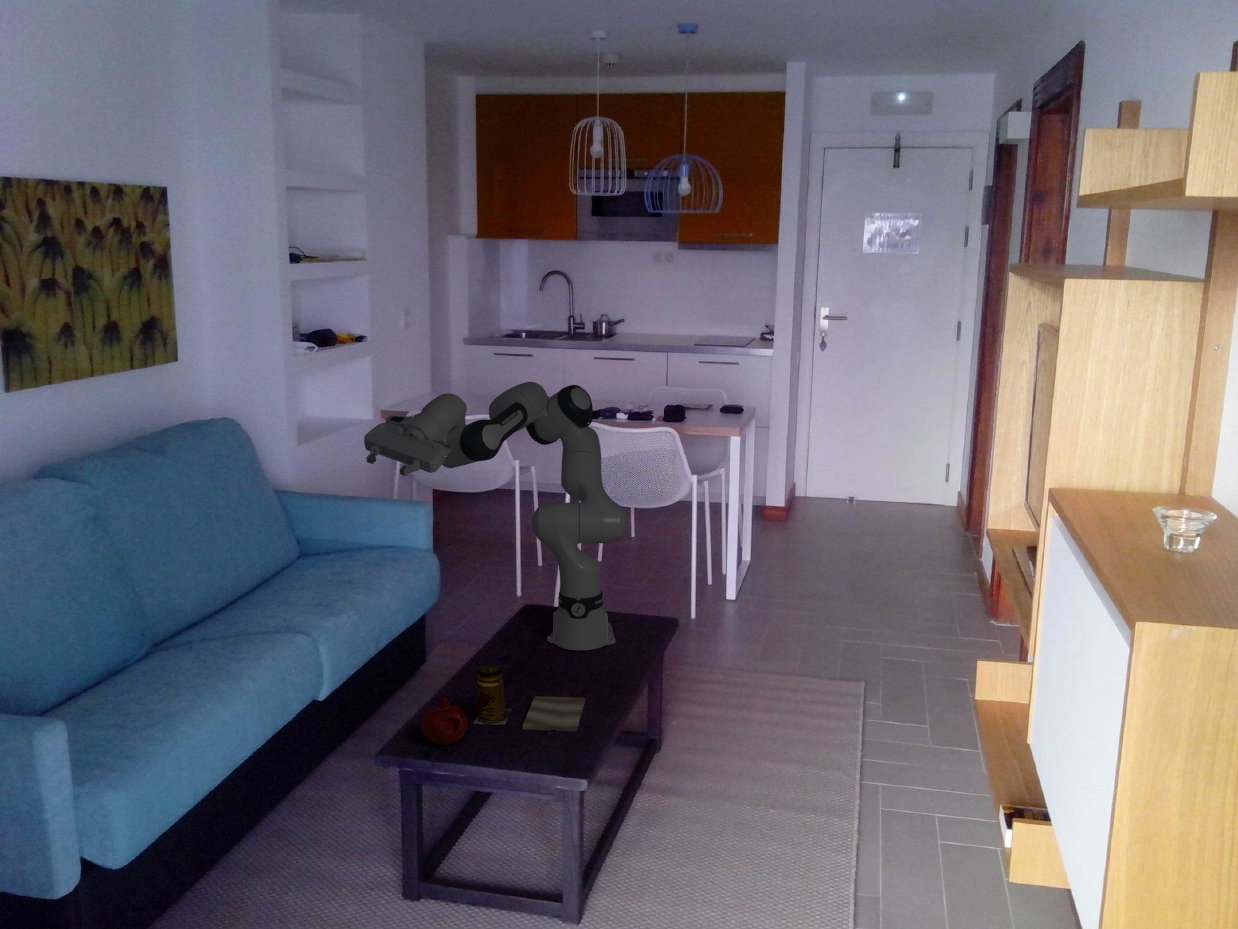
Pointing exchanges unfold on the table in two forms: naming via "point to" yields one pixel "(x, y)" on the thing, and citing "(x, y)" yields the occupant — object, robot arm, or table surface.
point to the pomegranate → (444, 723)
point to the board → (554, 713)
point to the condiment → (491, 696)
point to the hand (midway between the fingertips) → (385, 467)
